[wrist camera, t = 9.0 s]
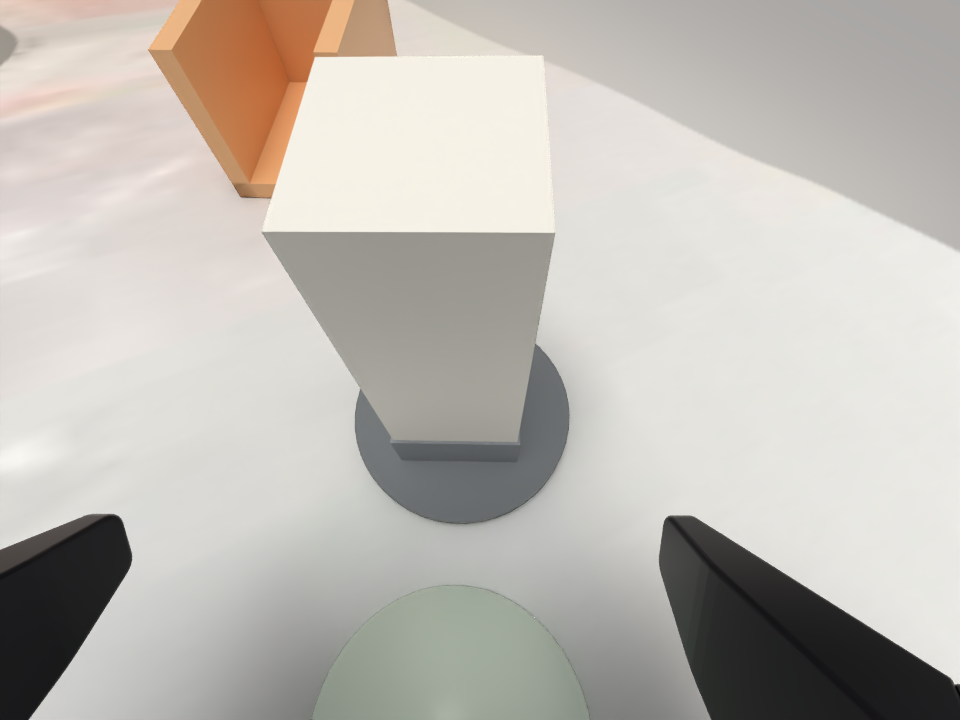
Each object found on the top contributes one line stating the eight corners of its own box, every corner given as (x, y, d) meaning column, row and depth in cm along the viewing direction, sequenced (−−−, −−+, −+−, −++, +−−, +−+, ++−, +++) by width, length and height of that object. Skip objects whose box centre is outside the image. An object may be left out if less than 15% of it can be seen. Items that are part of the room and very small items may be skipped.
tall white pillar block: (516, 462, 18) (562, 237, 7) (401, 460, 18) (253, 236, 7) (515, 359, 20) (548, 51, 9) (411, 358, 21) (310, 54, 9)
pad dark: (606, 462, 19) (611, 457, 18) (404, 565, 17) (400, 564, 17) (507, 300, 23) (508, 290, 22) (333, 372, 21) (327, 364, 20)
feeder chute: (284, 87, 31) (222, -65, 24) (402, 89, 30) (376, -65, 23) (240, 196, 26) (147, 49, 19) (378, 200, 26) (336, 52, 19)
